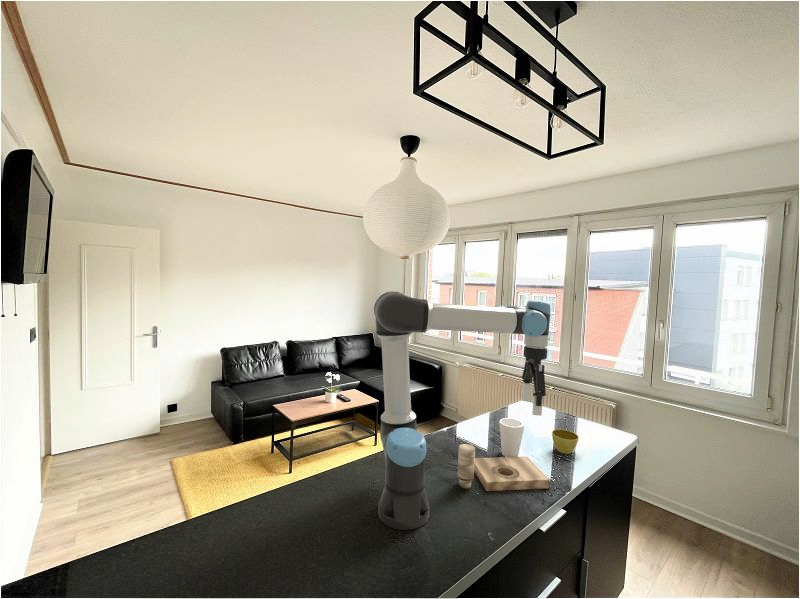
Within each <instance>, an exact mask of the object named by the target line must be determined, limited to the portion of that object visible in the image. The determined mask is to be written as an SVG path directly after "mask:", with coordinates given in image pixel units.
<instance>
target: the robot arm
mask: <svg viewBox="0 0 800 599" xmlns="http://www.w3.org/2000/svg"><path fill="white" fill-rule="evenodd" d="M373 313H374V314H373V315H374V316H375V332H376V333H375V334H376V336H377V337H378V338H379V339H380V340H381V357H382V358H381V360H382V375H383V376H382V377H383V395H384V396H383V397H384V398H383V400H384V411H383V413H382V414H381V415H380V431H379V432H380V433H379V434H380V440H381V441H380V442H381V445H382V450H383V454H384V459H385V471H384V474H385V475H384V487H383V490H382V494H381V495H380V498H379V500H378V505H377V515H378V518H379V520H380V521H381V522H382V523H383V524H384V525H386V526H387V527H389V528H392V529H394V530H399V531H410V530H415V529H419V528H421V527H422V526H424V525H425V524H426V523H427V522H428V520H429V517H430V504H429V501H428V500H429V499H428V497H427V493H426V490H425V482H426V481H425V480H426V460H427V459H426V458H427V448H428V447H427V442H426V438H425V436H424V435H423V434H422V433H421V432H420V431H418V429H417V415H416V414H417V413H415V412H414V411H413V410H412V403H411V402H412V401H411V400H412V399H411V378H410V377H411V376H410V354H409V352H410V350H409V337H411V335H413V333H422V334H423V333H425V334H426V333H427V332H428V331H429V330H431V331H433V330H434V331H454V332H473V333H474V332H476V333H494V334H497V333H499V334H514V335H524V339H523V340H524V341H523V343H524V347H523V357H524V358H525V361H524V366H523V371H522V375H521V379H522V382H523V384H522V397H521V398H522V400H521V401H522V402H531V398H532V396H533V401H532V412H531V413H532V416H539V417H540V416H543V415H542V413H543V403H544V402H543V399H544V397H546V395H547V393H546V380H545V379H546V378H545V364H542V361H544V360H547V358H548V350H549V349H548V348H547V347H548V345H549V341H550V337H549V334H550V333H549V332H550V321H551V304H550V302H548V301H543V300H528V301H527V302H526V305H525V306H520V305H519V306H518V305H517V306H516V305H504V304H503V305H495V306H494V307H493V306H481V305H480V306H478V305H463V304H449V303H448V304H447V303H432V302H430V301H429V300H428V299H425V298H415V297H411V296H409V295H405V294H403V293H402V292H399V291H387V292H384V293H382V294H381V295H380V296H379V297H378V298H377V299H376V301H375V303H374V306H373ZM532 384H533V389H534V392H533V394H532ZM531 395H532V396H531Z"/></svg>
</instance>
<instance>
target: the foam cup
mask: <svg viewBox="0 0 800 599" xmlns="http://www.w3.org/2000/svg"><path fill="white" fill-rule="evenodd" d="M498 427H499V431H500V433H499V435H500V444H501V445H500V446H501V455H502V456H503V457H519V454H520V449H521V445H522V440H523V433H524V431H525V423H524V422H523V421H522V420H520V419H517V418H512V417H505V418H500V419H499V426H498Z"/></svg>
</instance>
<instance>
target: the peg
mask: <svg viewBox="0 0 800 599" xmlns="http://www.w3.org/2000/svg"><path fill="white" fill-rule="evenodd" d="M457 458H458V460H457V476H456V477H457V478H458V480H459V481H458V482H459V483H458V484H459V487H461V488H463V489H470V488H471V487H472V481H474V479H475V472H474V463H475V458H476V448H475V446H474V445H472V444H468V443H463V444H460V445H459V446H458V457H457Z"/></svg>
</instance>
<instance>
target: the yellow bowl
mask: <svg viewBox="0 0 800 599" xmlns="http://www.w3.org/2000/svg"><path fill="white" fill-rule="evenodd" d="M551 438H552V441H553V444H554V447H555V449H556V450H557V452H559V453H561V454H564V455H570V454H571V453H572V452H573V451H574V449H576V447H577V444H578V442H579V438H580V437H579V435H578V434H577V433H575V432H574V431H570V430H567V429H560V428H559V429H553V430H552V431H551Z"/></svg>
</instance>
